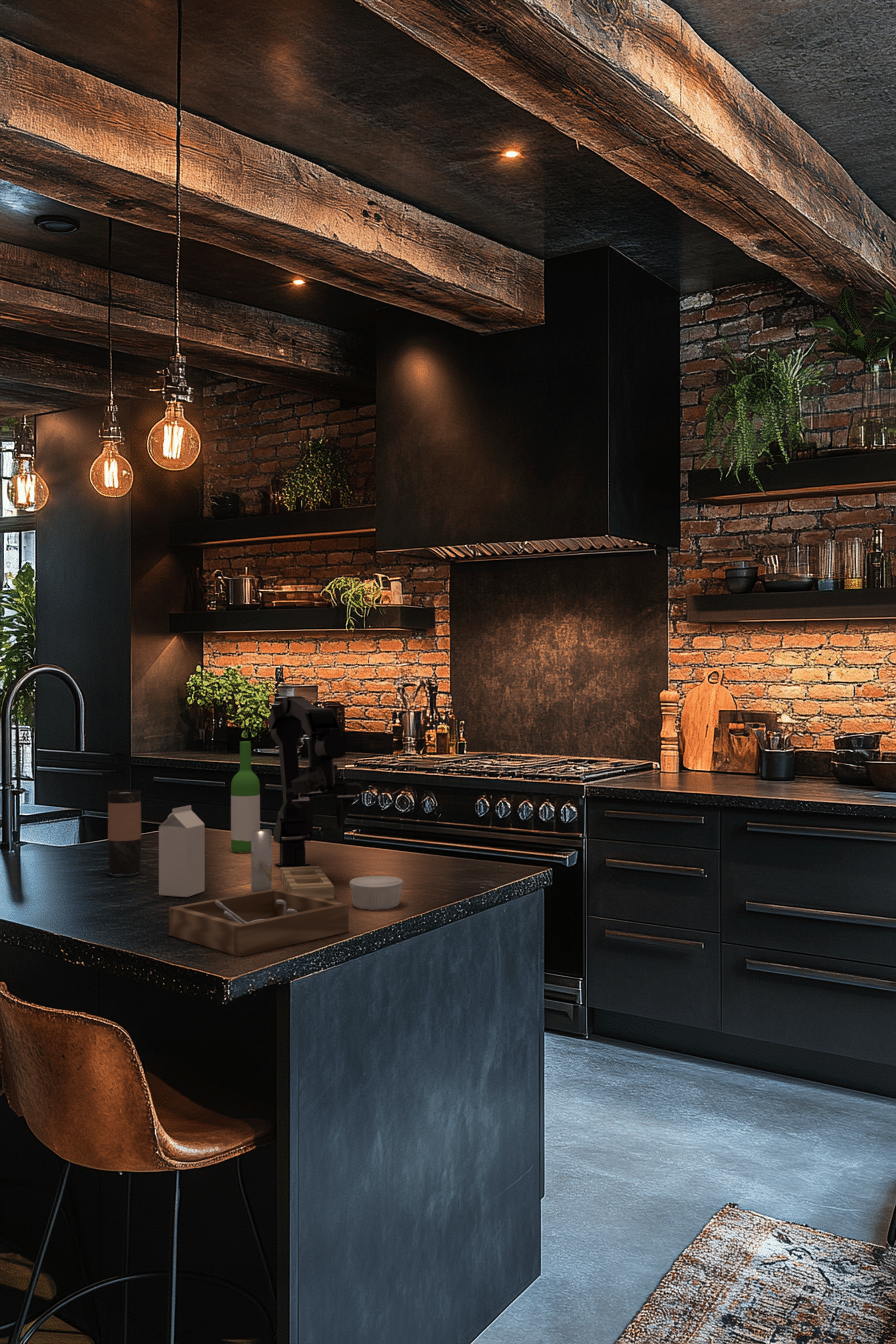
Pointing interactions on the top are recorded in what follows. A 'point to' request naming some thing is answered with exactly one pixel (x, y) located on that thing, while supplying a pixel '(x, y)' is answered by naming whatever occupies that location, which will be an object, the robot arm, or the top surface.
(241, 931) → the tray
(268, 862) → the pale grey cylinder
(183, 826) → the milk carton
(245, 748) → the wine bottle
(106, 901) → the top surface
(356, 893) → the ramekin
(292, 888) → the wooden slotted holder
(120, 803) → the travel mug
